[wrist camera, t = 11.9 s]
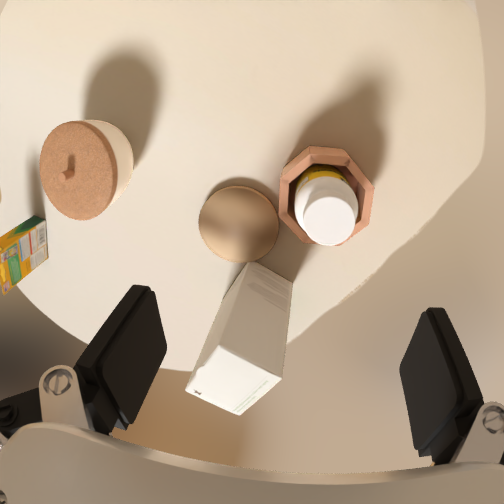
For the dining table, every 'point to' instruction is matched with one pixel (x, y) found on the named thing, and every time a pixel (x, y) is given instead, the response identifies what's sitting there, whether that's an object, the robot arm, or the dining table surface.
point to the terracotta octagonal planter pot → (340, 161)
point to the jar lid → (239, 224)
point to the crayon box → (22, 251)
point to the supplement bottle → (325, 204)
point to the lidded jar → (85, 167)
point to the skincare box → (245, 341)
